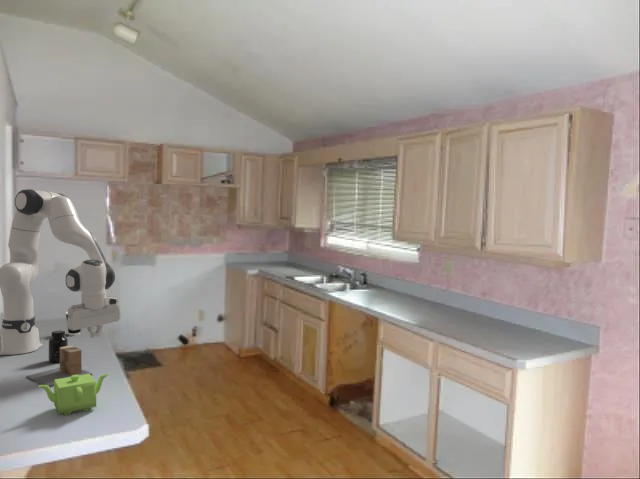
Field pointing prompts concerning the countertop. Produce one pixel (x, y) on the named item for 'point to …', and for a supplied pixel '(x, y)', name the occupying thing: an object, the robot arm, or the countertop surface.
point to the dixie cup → (72, 332)
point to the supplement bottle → (56, 345)
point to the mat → (51, 376)
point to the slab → (70, 360)
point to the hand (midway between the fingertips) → (95, 336)
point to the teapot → (74, 393)
